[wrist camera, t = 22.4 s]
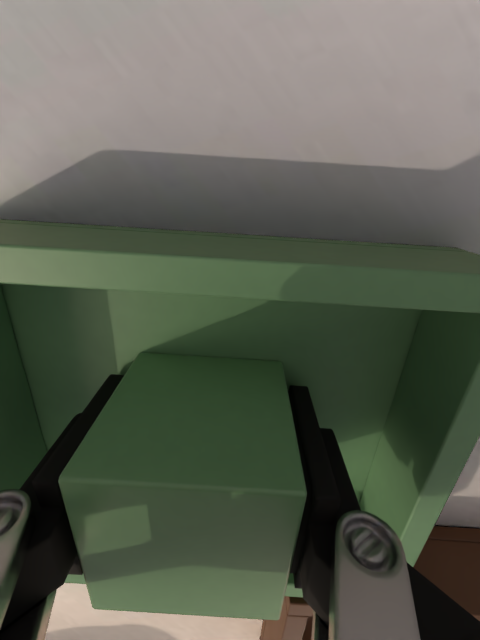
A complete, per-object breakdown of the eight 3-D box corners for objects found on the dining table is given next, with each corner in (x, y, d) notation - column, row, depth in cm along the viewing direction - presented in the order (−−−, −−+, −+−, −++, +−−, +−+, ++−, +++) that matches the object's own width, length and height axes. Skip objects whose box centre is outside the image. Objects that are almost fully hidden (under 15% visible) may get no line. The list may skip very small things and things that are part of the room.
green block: (138, 351, 9) (54, 479, 5) (282, 360, 9) (308, 495, 5) (148, 455, 11) (91, 610, 7) (268, 463, 11) (280, 622, 7)
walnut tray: (281, 515, 13) (289, 603, 11) (587, 534, 13) (677, 627, 11) (259, 640, 18) (261, 724, 15) (485, 654, 18) (529, 741, 15)
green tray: (-27, 217, 9) (-163, 234, 6) (457, 247, 9) (561, 279, 6) (53, 495, 13) (1, 579, 10) (364, 514, 13) (395, 604, 10)
